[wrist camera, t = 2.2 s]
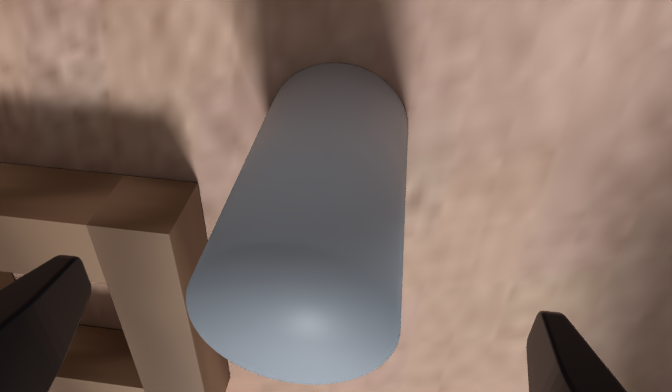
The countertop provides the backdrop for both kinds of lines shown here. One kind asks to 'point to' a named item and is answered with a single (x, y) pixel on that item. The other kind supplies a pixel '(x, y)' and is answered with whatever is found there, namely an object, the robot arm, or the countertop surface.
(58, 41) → the countertop surface
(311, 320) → the peg
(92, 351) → the socket block
